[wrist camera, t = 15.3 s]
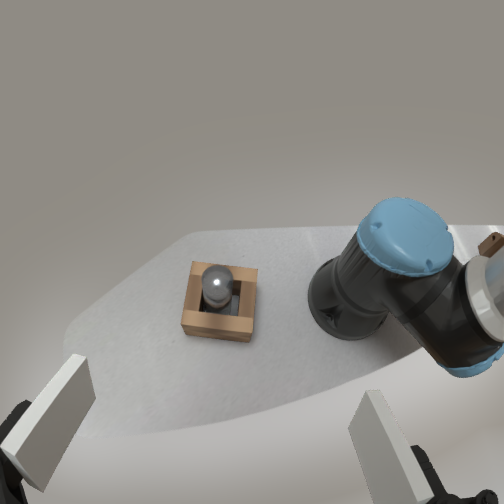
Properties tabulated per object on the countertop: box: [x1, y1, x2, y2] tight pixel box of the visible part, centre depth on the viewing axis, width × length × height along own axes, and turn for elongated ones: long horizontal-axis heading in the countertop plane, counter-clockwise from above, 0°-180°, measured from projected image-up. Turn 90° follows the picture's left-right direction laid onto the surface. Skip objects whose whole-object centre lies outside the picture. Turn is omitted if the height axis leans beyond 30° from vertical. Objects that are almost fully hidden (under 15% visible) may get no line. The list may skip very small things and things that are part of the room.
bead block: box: [181, 261, 258, 342], centre depth 44 cm, size 10×10×6 cm
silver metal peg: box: [201, 265, 233, 315], centre depth 41 cm, size 4×4×12 cm
